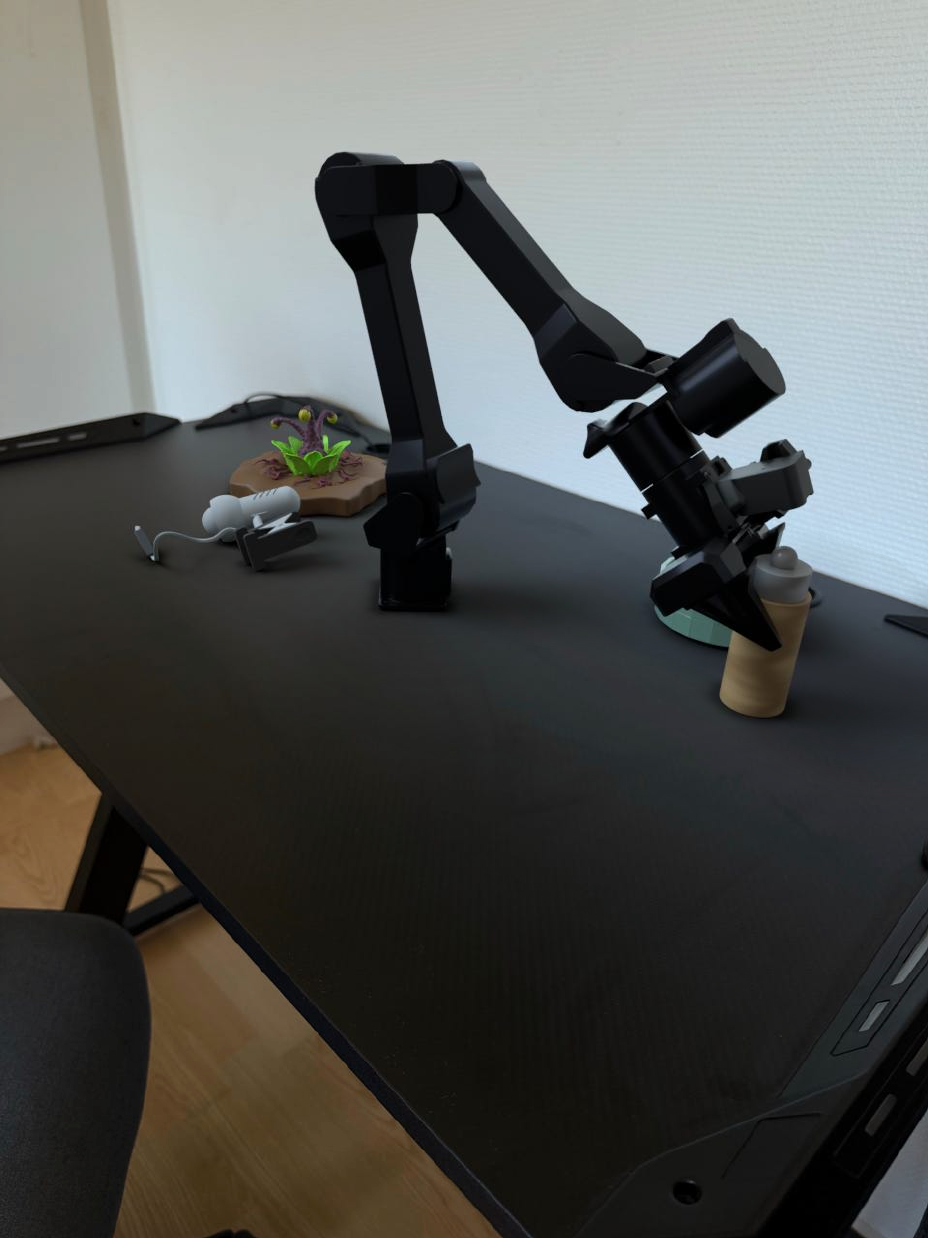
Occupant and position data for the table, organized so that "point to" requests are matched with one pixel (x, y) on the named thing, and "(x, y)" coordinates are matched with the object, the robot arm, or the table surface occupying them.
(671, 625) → the green shallow bowl
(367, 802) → the table surface
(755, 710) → the pepper mill
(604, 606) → the table surface
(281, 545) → the clip-on lamp
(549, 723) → the table surface
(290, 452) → the plant
